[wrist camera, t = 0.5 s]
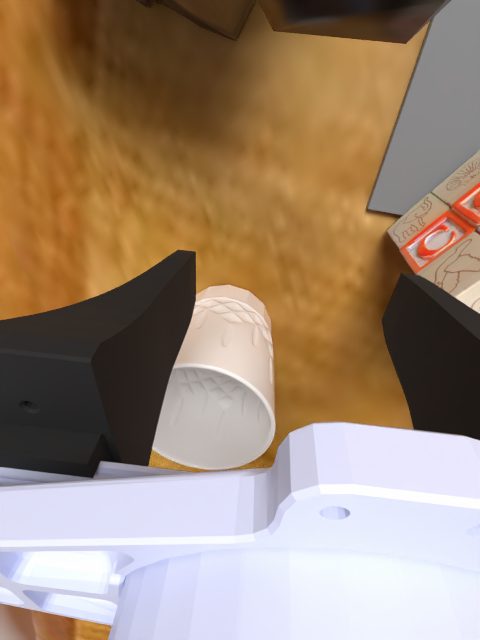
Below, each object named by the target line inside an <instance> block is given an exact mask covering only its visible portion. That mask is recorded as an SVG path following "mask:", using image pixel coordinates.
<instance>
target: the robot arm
mask: <svg viewBox="0 0 480 640" xmlns="http://www.w3.org/2000/svg"><path fill="white" fill-rule="evenodd" d="M195 302H196V252H193V251H184V250H177V251H176V252H174V253H173V254H171V255H170V256H168V257H167V258H165V259H164V260H162V261H161V262H160V263H158V264H157V265H155V266H154V267H152V268H151V269H149V270H147V271H146V272H144V273H142V274H141V275H139V276H137V277H136V278H134V279H132V280H130V281H129V282H127V283H125V284H123V285H121V286H119V287H117V288H115V289H113V290H111V291H108V292H106V293H104V294H101V295H99V296H96V297H93V298H90V299H88V300H85V301H82V302H79V303H76V304H73V305H70V306H66V307H63V308H59V309H55V310H51V311H47V312H43V313H39V314H34V315H29V316H23V317H17V318H12V319H6V320H0V603H2V604H8V605H12V606H17V607H22V608H27V609H32V610H37V611H42V612H47V613H52V614H56V615H61V616H66V617H71V618H76V619H81V620H86V621H91V622H96V623H101V624H106V625H111V626H112V627H111V631H110V634H109V638H108V640H480V313H478V312H476V311H475V310H473V309H472V308H470V307H469V306H467V305H466V304H464V303H463V302H461V301H460V300H458V299H457V298H455V297H454V296H452V295H451V294H449V293H448V292H446V291H445V290H443V289H442V288H440V287H439V286H437V285H435V284H434V283H432V282H431V281H429V280H427V279H426V278H424V277H422V276H420V275H412V274H402V273H401V275H400V278H399V280H398V282H397V285H396V287H395V290H394V292H393V294H392V297H391V299H390V301H389V304H388V306H387V309H386V311H385V313H384V316H383V318H382V324H383V330H384V336H385V340H386V344H387V347H388V350H389V353H390V356H391V359H392V361H393V364H394V367H395V369H396V372H397V375H398V377H399V380H400V383H401V385H402V388H403V391H404V394H405V397H406V400H407V403H408V406H409V410H410V415H411V419H412V423H413V427H414V430H413V429H404V428H395V427H387V426H378V425H369V424H361V423H352V422H343V421H332V422H314V423H311V424H309V425H306V426H304V427H301V428H299V429H296V430H294V431H292V432H290V433H289V434H288V435H287V437H286V438H285V439H284V440H283V442H282V443H281V444H280V446H279V447H278V450H277V454H276V458H275V462H274V464H273V466H272V467H269V468H254V469H239V470H224V471H209V472H189V471H181V470H173V469H164V468H156V467H148V465H149V460H150V455H151V451H152V446H153V442H154V438H155V433H156V429H157V425H158V421H159V417H160V413H161V409H162V405H163V401H164V397H165V393H166V389H167V385H168V382H169V378H170V375H171V372H172V369H173V366H174V364H175V361H176V359H177V356H178V354H179V351H180V349H181V346H182V343H183V341H184V338H185V336H186V333H187V331H188V328H189V325H190V323H191V319H192V315H193V311H194V306H195Z"/></svg>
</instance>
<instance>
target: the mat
mask: <svg viewBox="0 0 480 640" xmlns="http://www.w3.org/2000/svg"><path fill="white" fill-rule="evenodd" d="M479 150H480V0H451V1H450V2H449V3H448V4H447V5H446V6H445V7H444V8H443V9H442V10H441V11H440V12H439V13H438V14H437V15H436V16H434V17H433V18H432V19H431V21H430V24H429V27H428V30H427V33H426V36H425V39H424V42H423V44H422V47H421V50H420V53H419V56H418V59H417V62H416V65H415V68H414V71H413V74H412V77H411V79H410V82H409V85H408V88H407V91H406V94H405V97H404V100H403V103H402V106H401V109H400V112H399V114H398V117H397V120H396V123H395V126H394V129H393V132H392V135H391V138H390V141H389V144H388V146H387V149H386V152H385V155H384V158H383V161H382V164H381V167H380V170H379V173H378V176H377V179H376V181H375V184H374V187H373V190H372V193H371V196H370V199H369V202H368V205H367V208H368V209H371V210H377V211H382V212H387V213H393V214H398V215H404V214H405V213H406V212H408V211H409V210H410V209H411V208H412V207H413V206H414V205H416V204H417V203H418V202H419V201H420V200H421V199H423V198H424V197H425V196H426V195H427V194H429V193H431V192H432V191H433V190H434V189H435V188H436V187H437V186H438V185H440V184H441V183H442V182H443V181H444V180H445V179H447V178H448V177H449V176H450V175H451V174H452V173H453V172H455V171H456V170H457V169H458V168H459V167H460V166H462V165H463V164H464V163H465V162H466V161H467V160H469V159H470V158H471V157H472V156H473V155H475V154H476V153H477V152H478V151H479Z"/></svg>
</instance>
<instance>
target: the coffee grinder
mask: <svg viewBox="0 0 480 640" xmlns="http://www.w3.org/2000/svg"><path fill="white" fill-rule="evenodd" d="M137 1H139V2H140V3H142V4H143V5H145V6H147V7H151V6H152V5H153V3H160V4H164V5H166V6H168V7H169V8H171V9H173V10H175V11H176V12H178V13H180V14H181V15H183V16H185V17H186V18H188V19H190V20H191V21H193V22H194V23H196V24H197V25H199V26H200V27H202V28H205V29H207V30H210V31H213V32H215V33H218V34H220V35H223V36H225V37H228V38H230V39H233V40H235V41H236V40H237V38H238V36H239V34H240V31H241V29H242V27H243V25H244V23H245V21H246V19H247V17H248V15H249V13H250V11H251V9H252V7H253V5H254V3H255V1H256V0H137ZM258 1H259V3H260V5H261V7H262V9H263V11H264V13H265V15H266V17H267V19H268V21H269V23H270V25H271V27H272V29H273V31H279V32H289V33H299V34H310V35H320V36H330V37H340V38H351V39H361V40H371V41H382V42H392V43H402V44H406V43H407V42H408V41H409V40H410V39H411V38H412V37H413V36H414V35H415V34H417V33H418V32H419V31H420V30H421V29H422V28H423V27H424V26H425V25H426V24H427V23H428V22H429V21H430V20H431V19H432V18H433V17H434V16H436V15H437V14H438V13H439V12H440V11H441V10H442V9H443V8H444V7H445V6H446V5H447V4H448V3H449V2H450V1H451V0H258Z"/></svg>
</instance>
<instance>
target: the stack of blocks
mask: <svg viewBox="0 0 480 640" xmlns="http://www.w3.org/2000/svg"><path fill="white" fill-rule="evenodd" d="M387 232H388V234H389V235H390V237H391V239H392V240H393V241H394V243H395V244H396V245H397V247H398V248H399V249H400V250H399V251H400V253H401V254H402V256H403V257H404V259H405V260H406V262H407V263H408V265H409V266H410V267H411V269H412V270H413V272H414V273H415V274H416V275H420V276H422V277H424V278H426V279H427V280H429V281H431V282H432V283H434V284H435V285H437V286H439V287H440V288H442V289H443V290H445V291H446V292H448V293H449V294H451V295H452V296H454V297H455V298H457V299H458V300H460V301H461V302H463V303H464V304H466V305H467V306H469V307H470V308H472V309H473V310H475V311H476V312H478V313H480V150H479V151H478V152H477V153H476V154H475V155H473V156H472V157H471V158H470V159H469V160H467V161H466V162H465V163H464V164H463V165H462V166H460V167H459V168H458V169H457V170H456V171H455V172H453V173H452V174H451V175H450V176H449V177H448V178H447V179H445V180H444V181H443V182H442V183H441V184H440V185H438V186H437V187H436V188H435V189H434V190H433V191H432V192H431V193H429V194H427V195H426V196H425V197H424V198H423V199H421V200H420V201H419V202H418V203H417V204H416V205H414V206H413V207H412V208H411V209H410V210H409V211H408V212H406V213H405V214H404V215H403V216H402V217H401V218H400V219H399V220H397V221H396V222H395V223H394V224H393V225H392V226H391V227H390V228H389V229H388V230H387Z"/></svg>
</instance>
